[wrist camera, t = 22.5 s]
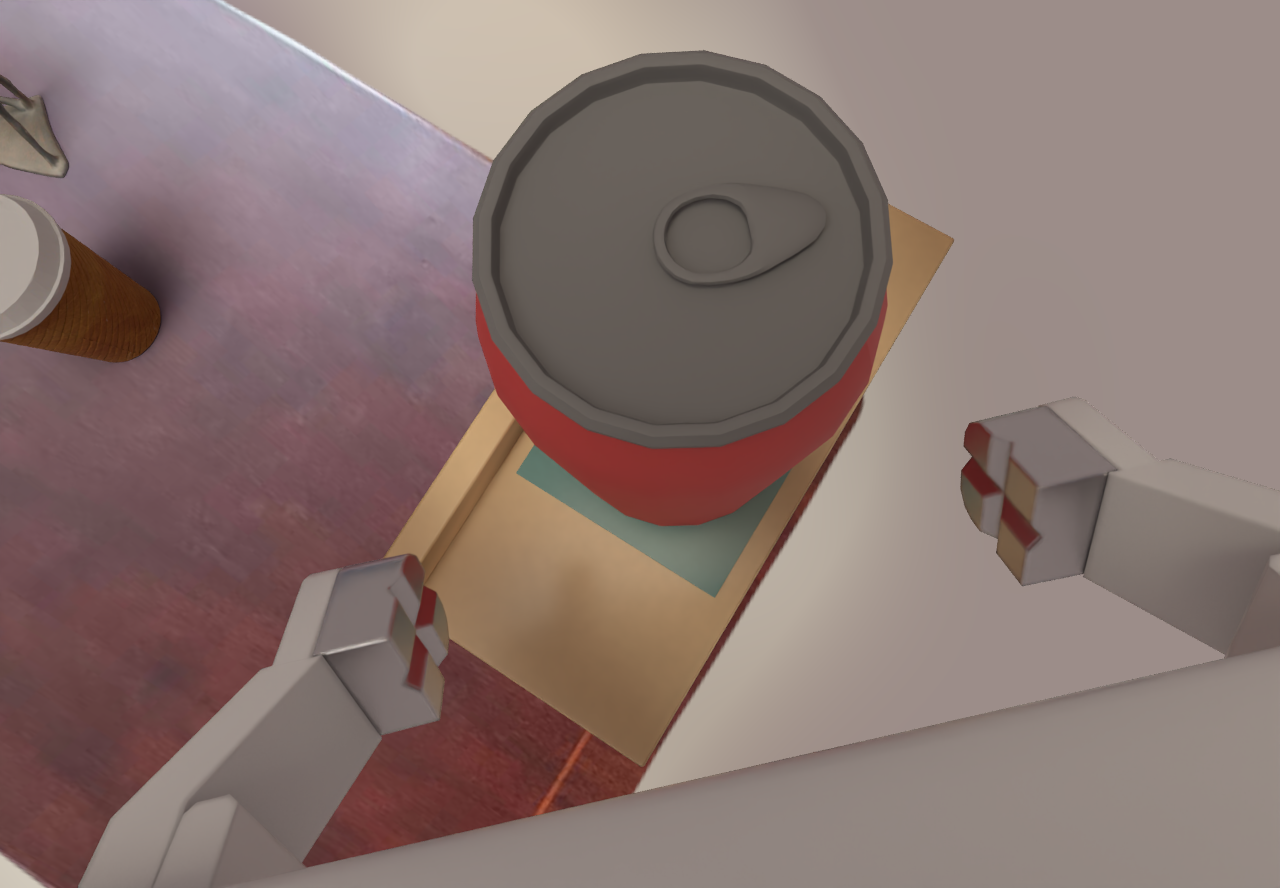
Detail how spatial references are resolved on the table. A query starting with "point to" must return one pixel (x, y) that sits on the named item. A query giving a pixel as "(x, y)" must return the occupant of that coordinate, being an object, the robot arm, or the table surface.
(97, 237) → the table surface
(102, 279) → the disposable coffee cup
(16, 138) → the figurine
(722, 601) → the shelf
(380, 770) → the table surface
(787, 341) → the beer can
